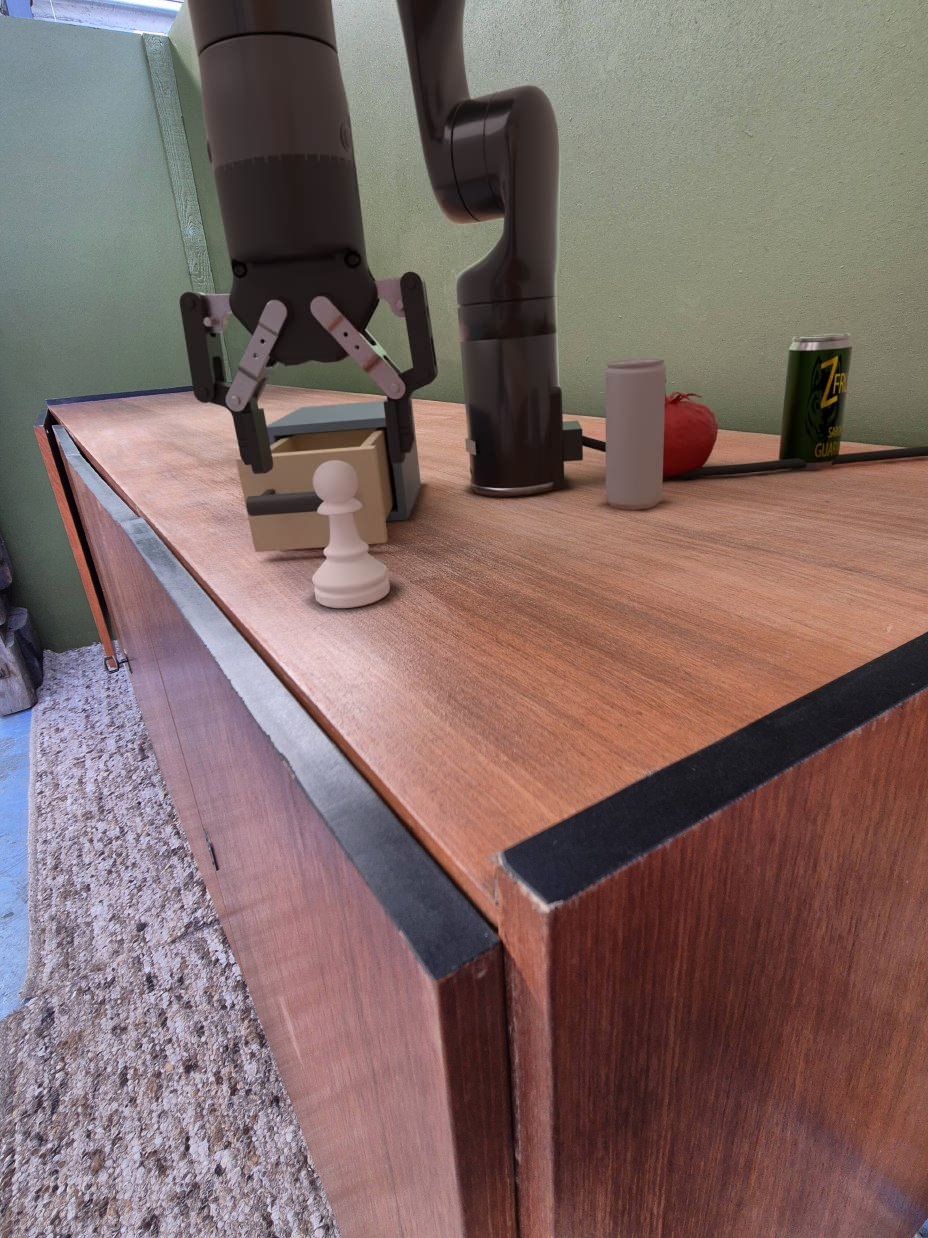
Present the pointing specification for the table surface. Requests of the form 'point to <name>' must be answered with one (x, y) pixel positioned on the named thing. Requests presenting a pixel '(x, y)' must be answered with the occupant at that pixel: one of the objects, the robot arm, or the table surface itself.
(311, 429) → the cabinet
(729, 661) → the table surface
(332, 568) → the chess pawn
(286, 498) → the drawer
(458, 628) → the table surface
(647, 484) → the beverage can
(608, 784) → the table surface
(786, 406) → the green soda can
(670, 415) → the red round piece
